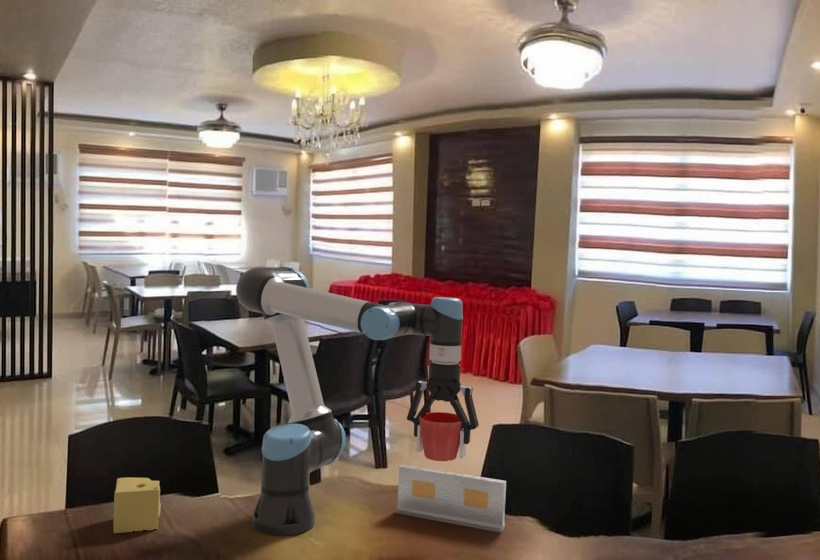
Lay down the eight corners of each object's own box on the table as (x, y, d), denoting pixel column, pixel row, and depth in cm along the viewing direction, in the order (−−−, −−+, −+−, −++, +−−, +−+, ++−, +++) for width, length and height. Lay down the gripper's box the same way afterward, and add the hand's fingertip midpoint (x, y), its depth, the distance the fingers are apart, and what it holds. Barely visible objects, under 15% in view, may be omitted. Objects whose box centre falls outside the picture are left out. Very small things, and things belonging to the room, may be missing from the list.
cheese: (160, 514, 170) (161, 474, 169) (159, 531, 159) (160, 489, 159) (115, 517, 166) (116, 477, 166) (110, 535, 156) (111, 492, 156)
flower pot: (460, 465, 157) (462, 424, 157) (414, 460, 159) (415, 420, 159) (465, 453, 168) (467, 414, 167) (422, 448, 170) (423, 410, 169)
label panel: (395, 513, 176) (397, 467, 176) (401, 507, 180) (403, 463, 180) (501, 532, 166) (503, 484, 166) (504, 527, 170) (507, 479, 170)
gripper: (395, 359, 163) (391, 450, 164) (486, 368, 155) (482, 464, 156) (406, 355, 170) (403, 443, 171) (494, 364, 162) (490, 456, 163)
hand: (440, 453), depth 163 cm, fingers closed on flower pot, 10 cm apart
